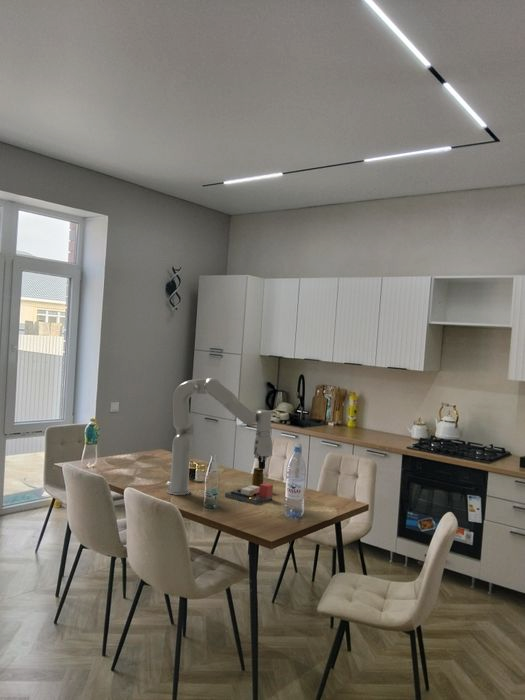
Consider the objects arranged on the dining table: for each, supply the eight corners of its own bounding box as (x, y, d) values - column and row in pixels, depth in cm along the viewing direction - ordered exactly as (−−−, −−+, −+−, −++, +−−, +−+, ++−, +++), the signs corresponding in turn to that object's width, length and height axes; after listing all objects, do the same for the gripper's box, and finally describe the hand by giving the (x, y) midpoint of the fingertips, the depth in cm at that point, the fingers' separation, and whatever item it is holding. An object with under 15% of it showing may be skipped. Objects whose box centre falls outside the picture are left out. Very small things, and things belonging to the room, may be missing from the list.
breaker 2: (246, 492, 301) (247, 486, 301) (251, 490, 305) (252, 485, 305) (254, 494, 298) (254, 488, 298) (259, 492, 302) (260, 486, 302)
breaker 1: (240, 494, 295) (241, 488, 295) (246, 492, 300) (246, 487, 300) (248, 496, 293) (249, 490, 293) (254, 494, 297) (254, 489, 297)
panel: (225, 496, 297) (225, 491, 297) (241, 491, 310) (241, 486, 310) (256, 504, 286) (256, 499, 286) (272, 499, 299) (272, 494, 299)
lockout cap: (259, 495, 296) (259, 484, 296) (264, 494, 300) (265, 483, 300) (267, 497, 294) (267, 486, 294) (272, 496, 298) (272, 484, 298)
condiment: (259, 488, 321) (261, 467, 321) (266, 491, 314) (268, 470, 314) (248, 488, 318) (249, 467, 318) (255, 492, 310) (257, 471, 310)
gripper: (258, 436, 290) (257, 471, 290) (277, 433, 301) (276, 468, 301) (248, 434, 295) (246, 469, 295) (267, 431, 306) (265, 465, 306)
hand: (261, 468), depth 298 cm, fingers closed
